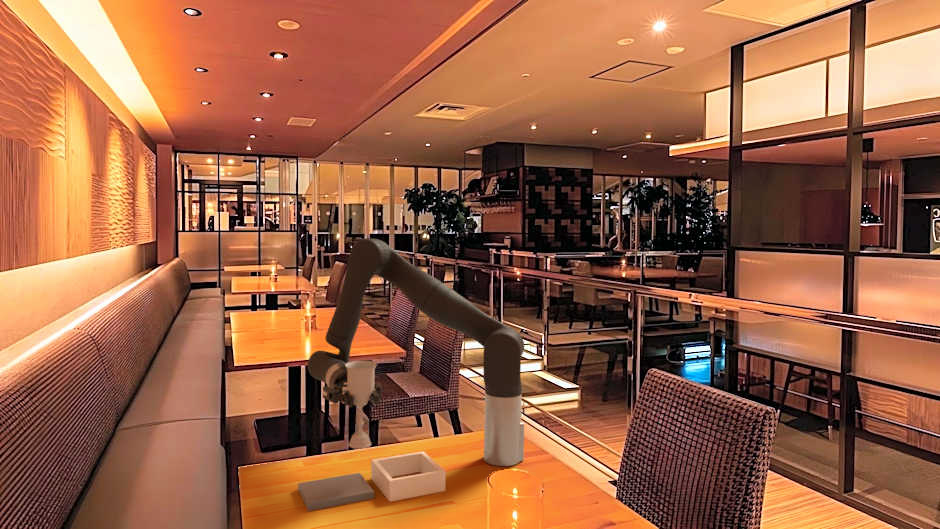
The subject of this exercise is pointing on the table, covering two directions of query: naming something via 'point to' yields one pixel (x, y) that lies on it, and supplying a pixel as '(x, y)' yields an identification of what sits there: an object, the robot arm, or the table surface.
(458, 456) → the table surface
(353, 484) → the slate board
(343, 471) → the table surface
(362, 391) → the chalice
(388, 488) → the open box
